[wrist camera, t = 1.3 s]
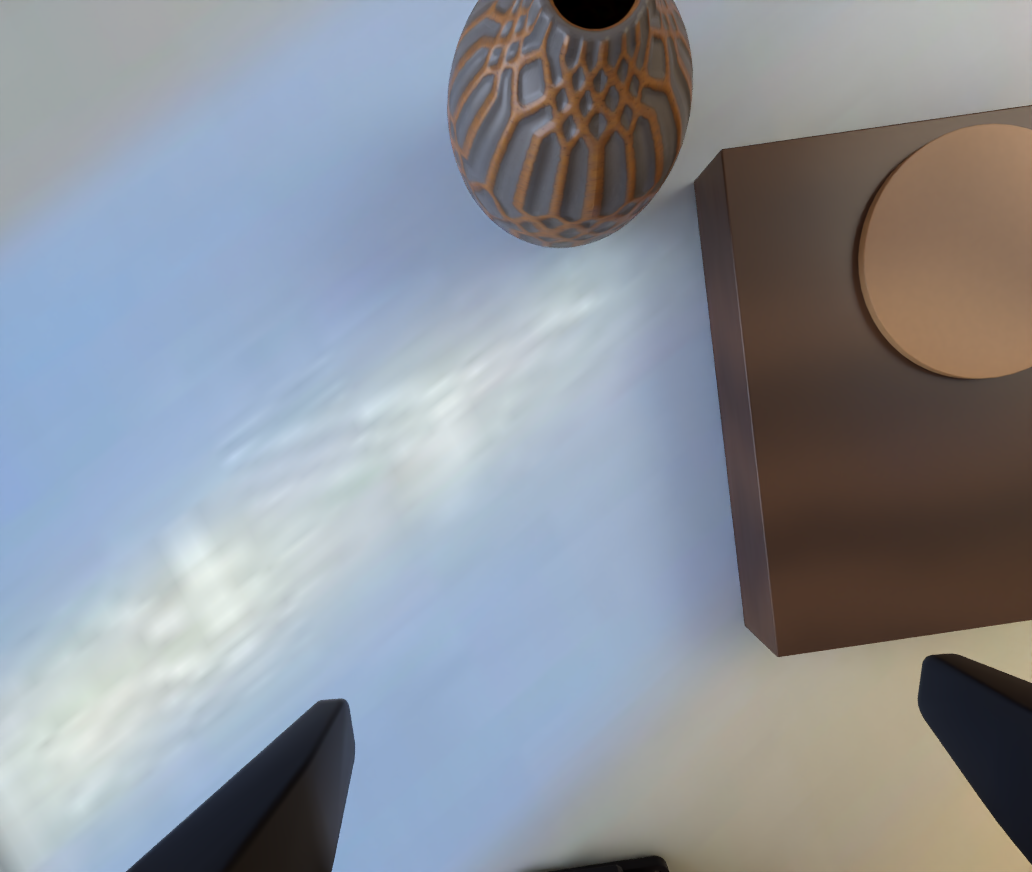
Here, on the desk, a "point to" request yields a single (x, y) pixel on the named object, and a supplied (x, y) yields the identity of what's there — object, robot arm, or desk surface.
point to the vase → (568, 112)
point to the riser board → (876, 376)
